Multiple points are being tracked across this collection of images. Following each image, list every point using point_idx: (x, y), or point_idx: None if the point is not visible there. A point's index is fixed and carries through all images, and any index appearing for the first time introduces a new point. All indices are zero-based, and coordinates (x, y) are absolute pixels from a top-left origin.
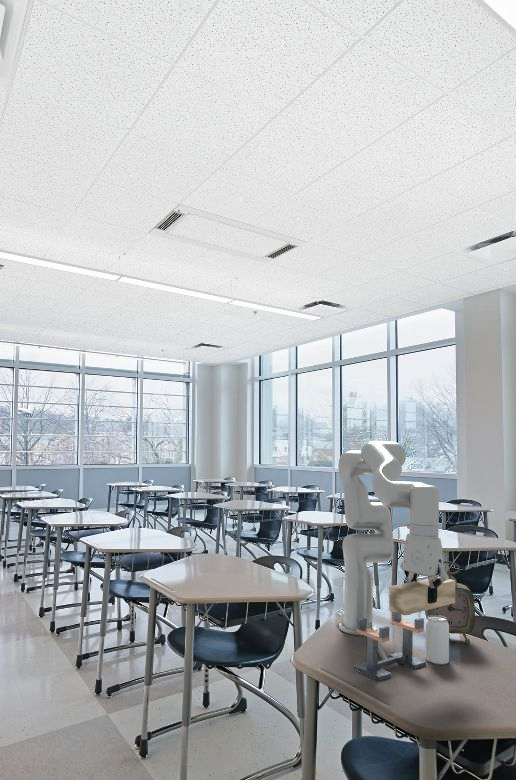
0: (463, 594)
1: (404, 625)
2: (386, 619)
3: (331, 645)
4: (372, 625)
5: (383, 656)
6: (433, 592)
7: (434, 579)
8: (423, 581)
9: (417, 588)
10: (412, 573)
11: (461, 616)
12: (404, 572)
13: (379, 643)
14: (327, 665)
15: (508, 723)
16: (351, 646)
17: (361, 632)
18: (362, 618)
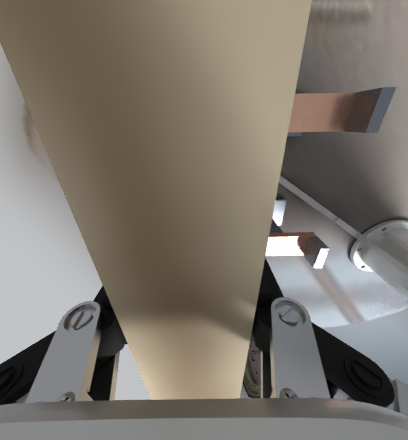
0: (257, 384)
1: (280, 236)
2: (358, 301)
3: (396, 152)
4: (358, 239)
5: (287, 181)
6: (103, 288)
7: (98, 394)
8: (218, 353)
9: (59, 178)
10: (283, 388)
11: (253, 343)
12: (384, 374)
13: (316, 208)
14: (361, 50)
15: (41, 162)
16: (360, 182)
17: (343, 93)
18: (380, 118)
